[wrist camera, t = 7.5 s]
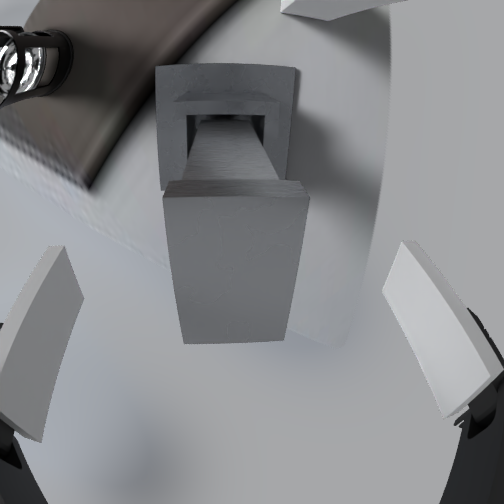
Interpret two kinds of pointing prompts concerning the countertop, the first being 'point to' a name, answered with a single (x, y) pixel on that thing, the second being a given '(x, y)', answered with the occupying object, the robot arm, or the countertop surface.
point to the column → (233, 238)
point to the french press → (30, 62)
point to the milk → (329, 7)
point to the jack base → (221, 108)
